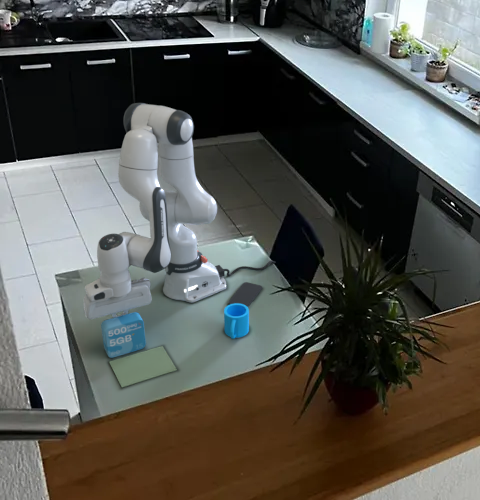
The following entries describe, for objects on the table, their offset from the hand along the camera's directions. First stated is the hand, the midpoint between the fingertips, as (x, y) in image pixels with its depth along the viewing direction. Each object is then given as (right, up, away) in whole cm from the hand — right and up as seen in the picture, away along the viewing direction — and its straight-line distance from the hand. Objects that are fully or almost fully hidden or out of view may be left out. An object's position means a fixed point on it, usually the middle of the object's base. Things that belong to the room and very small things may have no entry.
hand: (120, 321), depth 219 cm
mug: (+34, -6, +14) cm, 37 cm away
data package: (+1, -9, +3) cm, 10 cm away
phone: (+35, +6, +32) cm, 47 cm away
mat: (+8, -14, -3) cm, 16 cm away
